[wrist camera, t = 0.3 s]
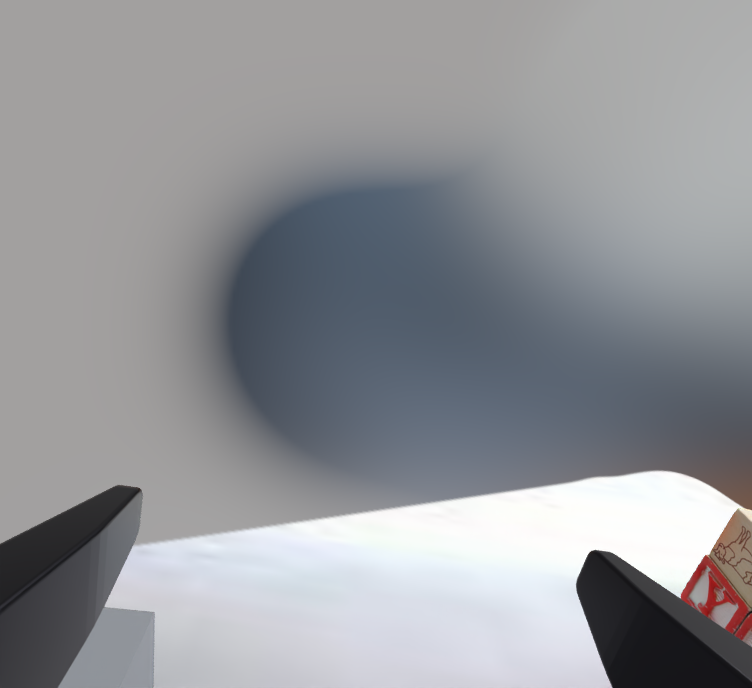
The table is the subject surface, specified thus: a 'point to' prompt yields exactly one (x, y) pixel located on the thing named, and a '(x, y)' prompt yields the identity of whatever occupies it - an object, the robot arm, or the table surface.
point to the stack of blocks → (726, 579)
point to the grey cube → (116, 652)
